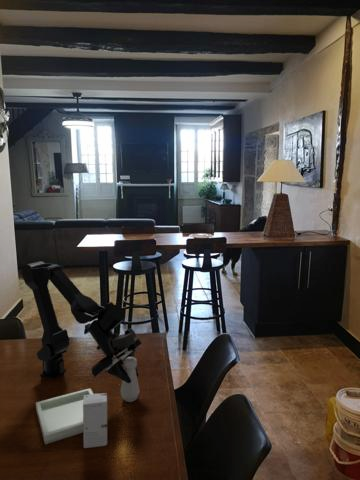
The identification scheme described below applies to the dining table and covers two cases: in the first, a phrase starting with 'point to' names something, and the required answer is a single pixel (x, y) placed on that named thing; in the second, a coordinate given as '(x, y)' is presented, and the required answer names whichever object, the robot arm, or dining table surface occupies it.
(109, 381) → the dining table surface
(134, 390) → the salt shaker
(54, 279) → the robot arm
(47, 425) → the tray
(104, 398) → the skincare box
